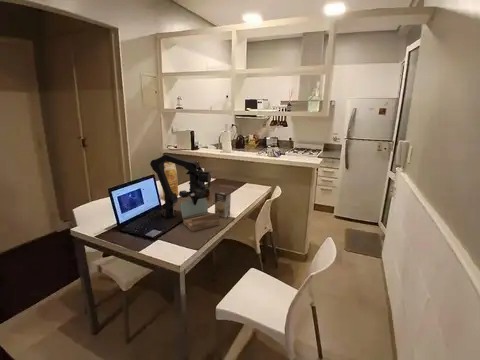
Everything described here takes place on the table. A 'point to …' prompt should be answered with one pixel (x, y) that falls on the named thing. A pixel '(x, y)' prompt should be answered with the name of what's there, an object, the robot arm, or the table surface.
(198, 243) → the table surface
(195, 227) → the brown wooden block
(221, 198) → the coffee box
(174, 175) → the pancake mix bag
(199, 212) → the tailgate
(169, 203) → the robot arm
